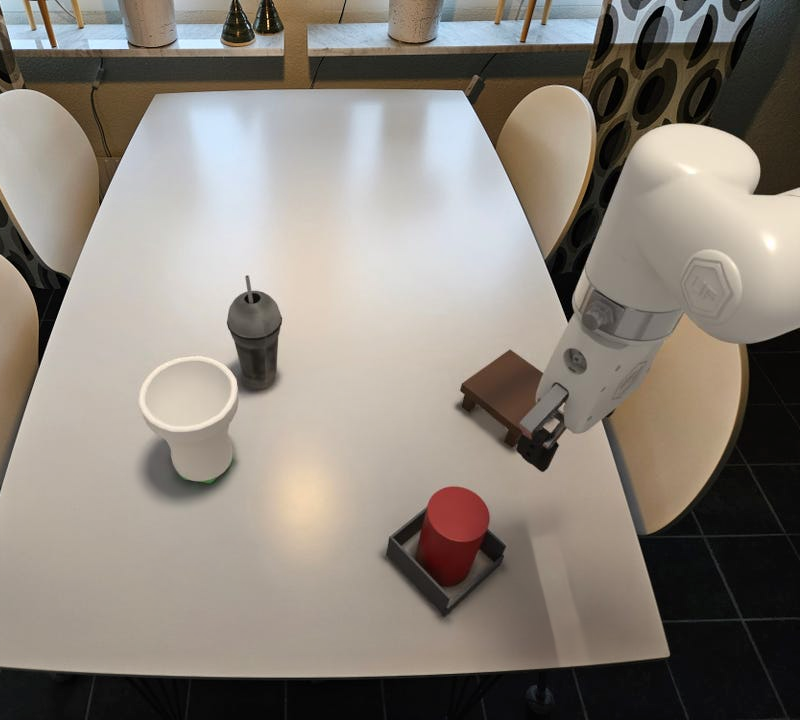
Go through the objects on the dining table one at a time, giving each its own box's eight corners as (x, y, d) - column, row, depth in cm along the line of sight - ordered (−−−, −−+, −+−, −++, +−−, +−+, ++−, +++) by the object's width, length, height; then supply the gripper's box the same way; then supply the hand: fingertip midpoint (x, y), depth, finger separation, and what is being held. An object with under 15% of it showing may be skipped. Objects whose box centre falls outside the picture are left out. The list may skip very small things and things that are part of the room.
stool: (558, 414, 89) (569, 391, 85) (512, 453, 85) (521, 430, 81) (502, 372, 94) (510, 349, 91) (455, 406, 90) (461, 383, 86)
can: (482, 564, 74) (502, 517, 66) (443, 598, 72) (460, 554, 63) (441, 524, 78) (456, 475, 70) (403, 556, 75) (414, 509, 67)
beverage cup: (290, 362, 95) (285, 255, 80) (279, 400, 90) (272, 293, 76) (242, 356, 96) (228, 248, 81) (229, 393, 91) (212, 286, 76)
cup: (142, 464, 83) (117, 395, 73) (205, 412, 89) (191, 340, 78) (202, 515, 78) (184, 448, 68) (265, 457, 84) (258, 387, 74)
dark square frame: (500, 565, 74) (509, 547, 71) (444, 617, 70) (451, 600, 67) (441, 509, 79) (446, 490, 76) (385, 555, 75) (389, 536, 72)
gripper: (603, 381, 42) (537, 512, 55) (737, 275, 50) (651, 412, 62) (514, 319, 46) (471, 454, 59) (650, 229, 54) (586, 367, 66)
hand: (564, 432), depth 61 cm, fingers open, 9 cm apart
